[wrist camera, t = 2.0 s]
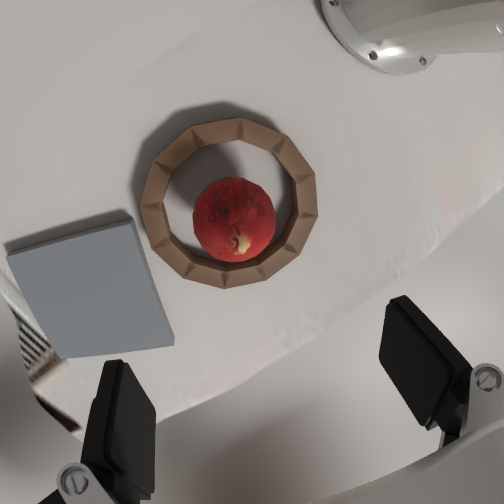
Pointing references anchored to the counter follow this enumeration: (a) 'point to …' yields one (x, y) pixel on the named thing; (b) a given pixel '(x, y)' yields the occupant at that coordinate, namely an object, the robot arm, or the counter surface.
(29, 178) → the counter surface
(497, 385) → the robot arm
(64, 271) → the board
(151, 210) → the ring holder
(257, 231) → the onion
